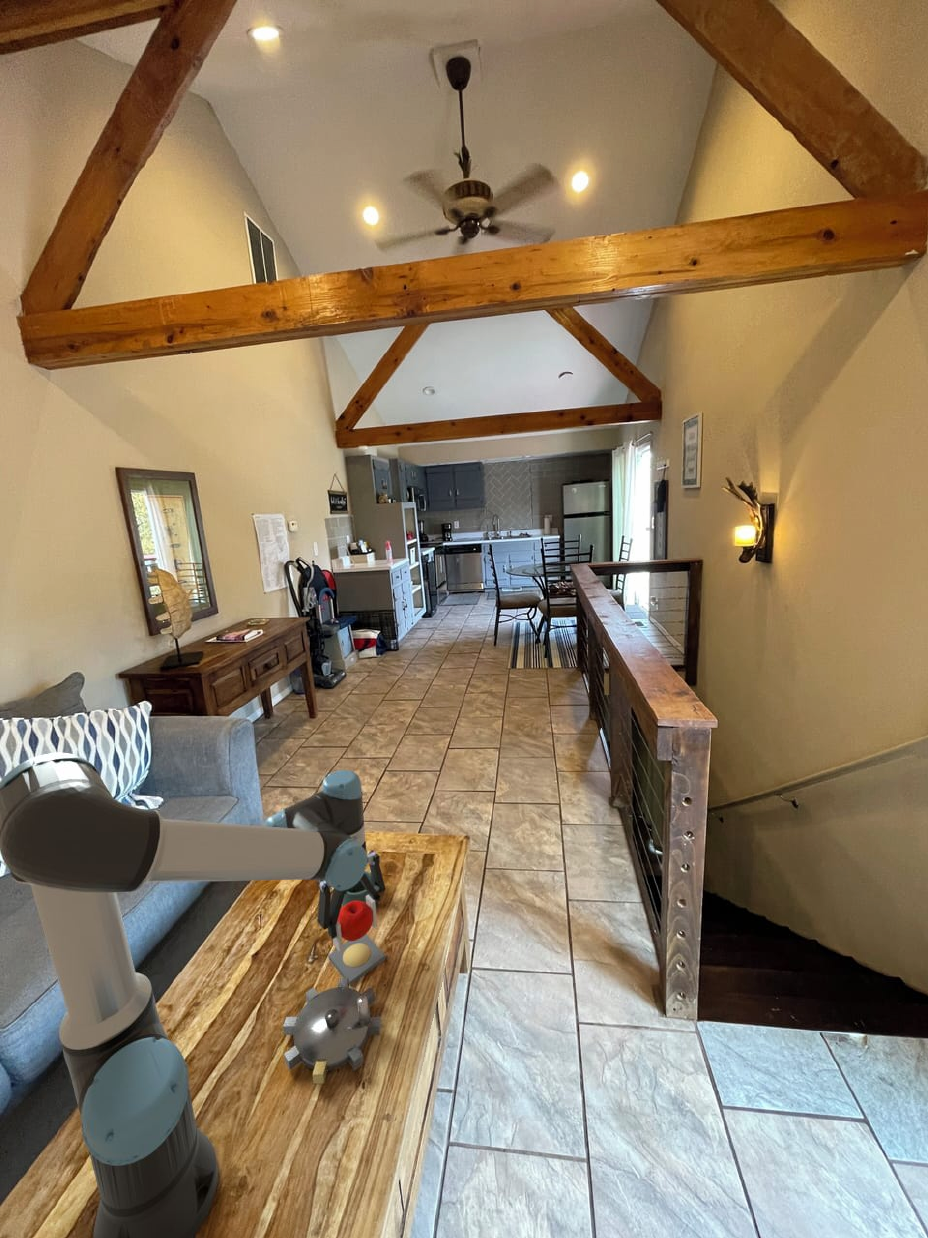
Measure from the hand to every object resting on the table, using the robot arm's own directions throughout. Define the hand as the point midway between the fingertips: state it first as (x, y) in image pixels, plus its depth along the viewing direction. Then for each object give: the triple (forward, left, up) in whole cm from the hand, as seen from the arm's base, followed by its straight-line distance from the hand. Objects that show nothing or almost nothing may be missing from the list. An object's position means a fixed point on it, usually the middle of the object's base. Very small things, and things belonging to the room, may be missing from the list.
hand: (355, 934), depth 110 cm
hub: (-12, -11, -6) cm, 18 cm away
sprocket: (-12, -11, -6) cm, 18 cm away
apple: (0, 0, 0) cm, 0 cm away
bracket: (+10, +15, -7) cm, 19 cm away
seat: (0, 0, -6) cm, 6 cm away
